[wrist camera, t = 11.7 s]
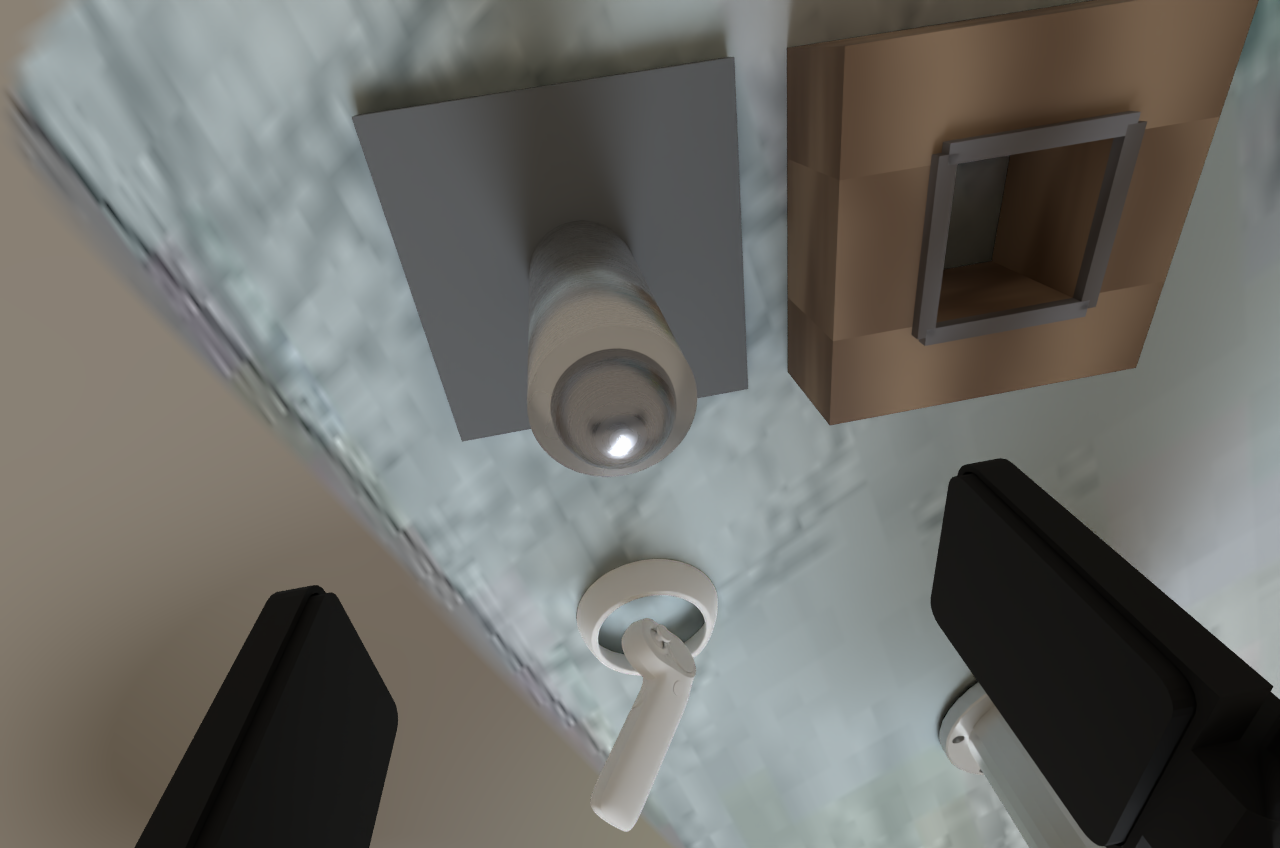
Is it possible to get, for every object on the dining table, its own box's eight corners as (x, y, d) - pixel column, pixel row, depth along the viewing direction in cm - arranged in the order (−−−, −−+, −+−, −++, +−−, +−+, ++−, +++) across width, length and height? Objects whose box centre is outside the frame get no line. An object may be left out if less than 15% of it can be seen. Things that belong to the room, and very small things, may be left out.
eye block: (1131, -6, 21) (1280, -22, 17) (1051, 323, 27) (1144, 372, 23) (786, 47, 20) (851, 45, 16) (787, 372, 26) (834, 430, 22)
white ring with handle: (463, 746, 28) (534, 763, 23) (588, 543, 36) (663, 521, 31) (578, 829, 30) (667, 861, 25) (673, 620, 38) (757, 612, 32)
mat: (727, 57, 20) (734, 57, 19) (742, 380, 26) (748, 388, 26) (358, 114, 19) (351, 116, 19) (464, 431, 26) (461, 441, 25)
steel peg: (627, 211, 21) (705, 336, 12) (641, 314, 23) (718, 494, 14) (518, 230, 21) (505, 373, 11) (542, 332, 23) (548, 528, 13)
